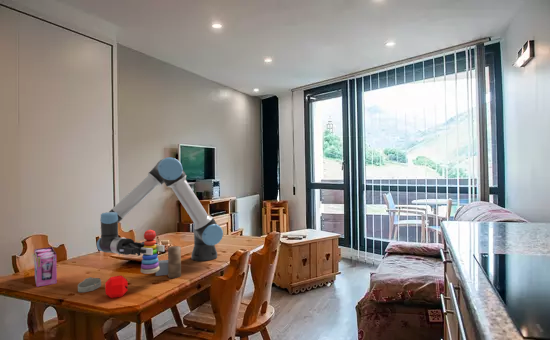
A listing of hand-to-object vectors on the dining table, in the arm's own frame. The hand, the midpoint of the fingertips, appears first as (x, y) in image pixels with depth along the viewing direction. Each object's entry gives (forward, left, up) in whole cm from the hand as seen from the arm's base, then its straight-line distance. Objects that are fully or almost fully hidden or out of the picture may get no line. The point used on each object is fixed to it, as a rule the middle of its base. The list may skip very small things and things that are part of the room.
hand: (158, 250), depth 143 cm
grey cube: (-1, -21, -16) cm, 26 cm away
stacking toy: (+4, -4, -10) cm, 11 cm away
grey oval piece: (+29, -8, -17) cm, 34 cm away
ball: (+16, +5, -16) cm, 24 cm away
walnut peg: (-7, -14, -16) cm, 22 cm away
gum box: (+53, -32, -17) cm, 64 cm away
